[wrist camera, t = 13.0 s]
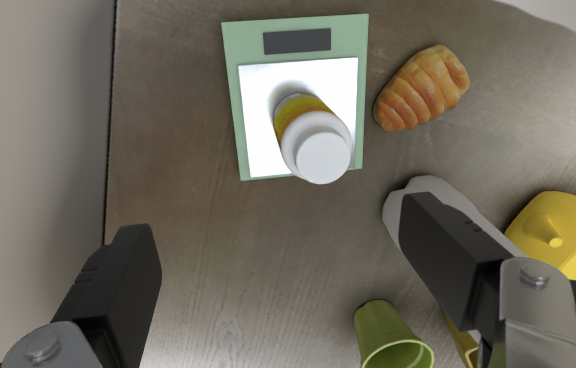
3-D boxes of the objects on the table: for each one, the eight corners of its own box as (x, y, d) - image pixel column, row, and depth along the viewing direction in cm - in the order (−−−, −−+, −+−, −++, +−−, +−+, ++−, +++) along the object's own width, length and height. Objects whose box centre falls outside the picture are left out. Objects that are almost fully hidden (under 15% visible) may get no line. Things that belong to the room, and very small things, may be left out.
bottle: (429, 154, 40) (811, 428, 13) (459, 207, 44) (804, 503, 17) (363, 199, 42) (587, 526, 15) (398, 246, 45) (626, 575, 19)
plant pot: (345, 291, 48) (366, 344, 40) (410, 287, 49) (442, 338, 41) (338, 339, 52) (356, 396, 44) (398, 335, 53) (425, 389, 45)
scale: (222, 22, 32) (220, 22, 29) (360, 13, 33) (371, 13, 30) (240, 171, 38) (240, 183, 35) (355, 160, 39) (363, 170, 37)
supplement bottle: (260, 116, 33) (268, 154, 24) (307, 79, 32) (334, 103, 23) (294, 158, 35) (314, 208, 26) (339, 125, 34) (376, 164, 25)
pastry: (390, 142, 39) (404, 154, 35) (357, 96, 36) (369, 103, 33) (462, 87, 37) (484, 94, 34) (433, 34, 34) (454, 35, 31)
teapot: (486, 272, 50) (542, 330, 40) (489, 196, 44) (555, 243, 35) (578, 247, 50) (654, 299, 40) (592, 168, 44) (686, 208, 35)
